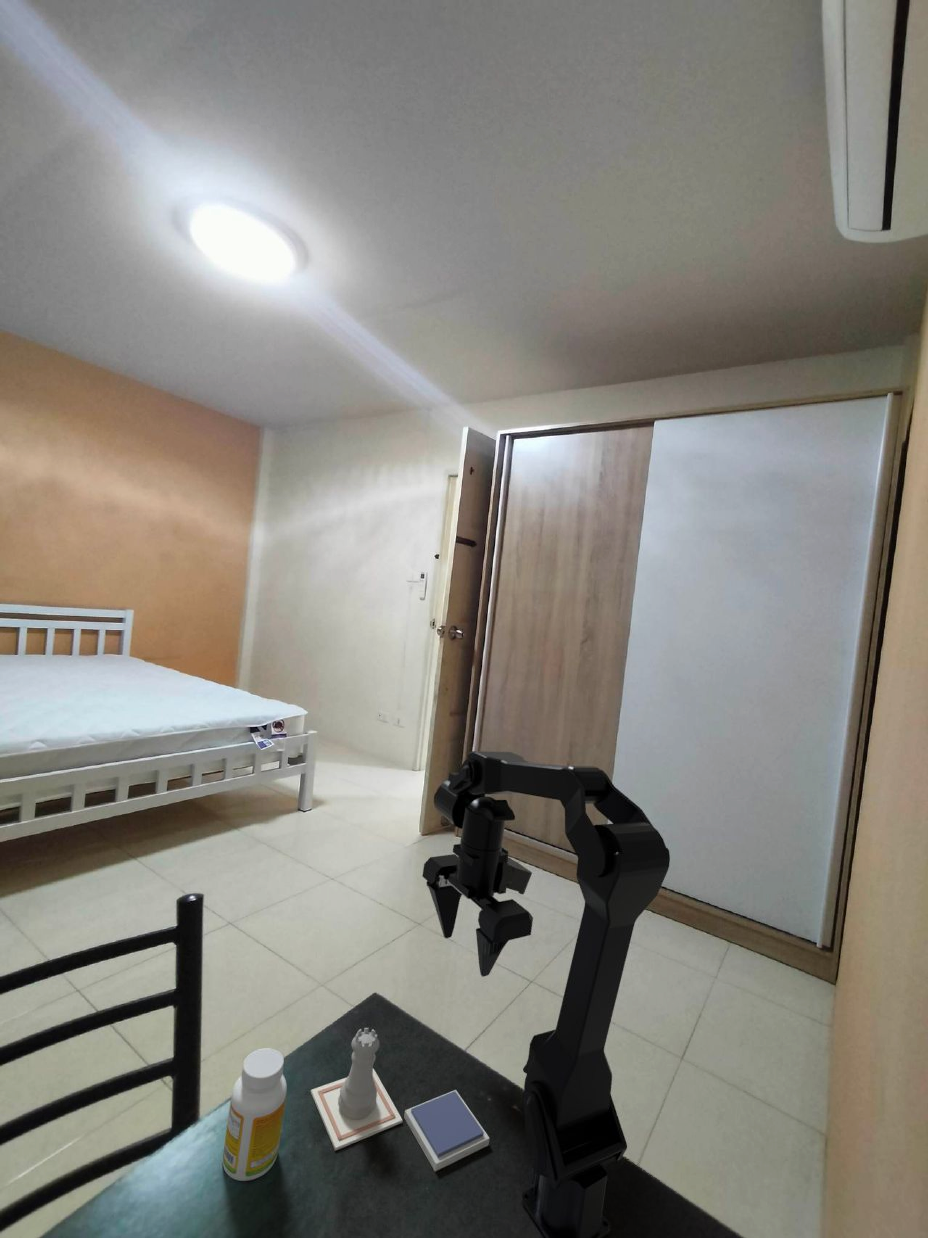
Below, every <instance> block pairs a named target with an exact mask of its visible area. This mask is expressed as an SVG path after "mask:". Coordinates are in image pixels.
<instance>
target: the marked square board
mask: <svg viewBox="0 0 928 1238" xmlns="http://www.w3.org/2000/svg"><path fill="white" fill-rule="evenodd" d="M346 1079H347V1077H344V1078H341V1079H337V1080H336V1081H332V1082H329V1083H326V1084H324V1085H321V1086H319V1087H315V1088H313V1089H311V1090H310V1094H311V1096H312V1100H313V1101H314V1104H315V1106H316V1108H317V1109H316V1110H318V1113H319V1115H320V1118H321V1120H322V1123H323V1125H324V1128H325V1130H326V1132H327V1134H328V1137H329V1140H330V1142H331V1144H332V1146H333V1147H332V1148H333V1149H334V1152H335V1151H337V1150H341V1149H343V1148H346V1147H347V1146H350V1145H352V1144H354V1143H357V1142H359V1141H362V1140H364V1139H367V1138H369V1137H371V1136H374V1135H376V1134H378V1133H381V1132H383V1131H385V1130H388V1129H390V1128H393V1127H395V1126H397V1125H400V1124H402V1123H403V1119H402V1117H401V1115H400V1112H399V1111H398V1109H397V1108H396V1105H395V1104H394V1102H393V1100H392V1099H391V1097H390V1095H389V1093H388V1092H387V1090H386V1088H385V1086H384V1085H383V1083H382V1081H381V1079H380V1077H379V1075H378V1074H377V1072H376V1070H375V1069H374V1068H373V1079H374V1081H375V1085H376V1088H377V1097H376V1106H375V1108H374V1110H373V1111H372V1112H371V1113H370V1114H369V1115H368V1116H367V1117H365V1118H362V1119H351V1118H348V1117H346V1116H345V1115H344V1114H343V1113H342V1112H341V1110H340V1108H339V1105H338V1097H339V1095H340V1089H341V1087H342V1085H343V1083H344V1081H345V1080H346Z"/></svg>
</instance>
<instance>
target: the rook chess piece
mask: <svg viewBox="0 0 928 1238" xmlns="http://www.w3.org/2000/svg"><path fill="white" fill-rule="evenodd" d="M369 1028H370V1027H364V1031H363V1030H362V1028H360V1029H359V1030H357V1032H356V1034H355V1036H354V1037H353V1039H352V1041H351V1048H352V1054H351V1061H352V1062H351V1068H350V1071H349V1074H348V1076H347V1077H346V1078H347V1079H346V1080H345V1081H344V1083H343V1085H342V1087H341V1089H340V1095H339V1097H338V1105H339V1108H340V1110H341V1112H342V1113H343V1114H344V1115H345V1116H346V1117H348V1118H351V1119H362V1118H365V1117H367V1116H368V1115H369V1114H370V1113H371V1112H372V1111H373V1110H374V1108H375V1106H376V1097H377V1088H376V1085H375V1081H374V1079H373V1069H374V1068H373V1067H374V1063H375V1062H376V1057H377V1056H376V1053H377V1051H378V1050H379V1048H380V1040H379V1038H378V1034H377V1033H376V1030H374V1029H371V1031H369V1030H370V1029H369Z"/></svg>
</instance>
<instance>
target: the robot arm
mask: <svg viewBox="0 0 928 1238" xmlns="http://www.w3.org/2000/svg"><path fill="white" fill-rule="evenodd" d="M466 757H467V758H466V759H465V760H464V761H463V763H462V764H461V766H460V767H459V769H458V770H457V772H449V773H448V779H447V780H445V781H444V782H442V783H441V785H439V786H438V788H437V789H436V791H435V793H434V795H433V805H434V807H435V810H436V811H437V812H438V813H439V814H441V816H442V817H444V818H445V819H446V820H448V821H449V822H450V823H451V824H452V825H453V826H455V827H456V828H458V829H460V830H461V835H460V842H459V843H458V844H453V847H452V854H446V855H437V856H431V857H429V858H428V859H427V860H426V861H425V862H424V864H423V869H422V878H424V879H425V880H426V886H427V888H428V890H429V893H430V896H431V899H432V902H433V905H434V908H435V911H436V914H437V918H438V921H439V924H440V928H441V931H442V934H443V937H444V938H445V939H450V938H452V936H453V934H454V929H455V925H456V921H457V920H456V919H457V916H458V910H459V905H460V900H461V897H462V896H463V897H465V898H466V899H467V900H471V901H472V902H473V903H474V904H475V905H477V906H478V907H479V908H480V909H481V910H480V911H479V913H478V917H477V918H478V919H477V922H478V927H477V928H476V929H475V933H476V944H477V945H476V946H477V956H478V965H479V966H478V967H479V973H480V976H481V977H483V978H484V977H486V976H489V975H490V974H491V972H492V969H493V968H494V966H495V964H496V962H497V960H498V959H499V956H500V954H501V953H502V952H503V951H502V950H504V948H505V947H506V945H507V944H508V942H509V941H514V940H516V939H520V938H524V937H527V936H531V935H532V930H533V929H532V928H533V920H534V916H532V914H531V913H530V912H529V911H528V910H527V909H526V908H524V906H522V905H521V904H519V903H518V902H517V901H515V900H514V899H512V898H511V899H506V900H502V901H501V900H500V901H499V900H498V899H496V898H495V897H494V896H495V894H497V895H502V894H503V895H504V894H507V889H508V890H512V891H515V892H518V894H520V895H524V894H525V892H526V889H527V887H528V884H529V883H530V880H531V878H532V874H533V872H532V871H531V870H529V869H528V868H526V867H524V866H523V865H522V864H520V863H519V862H518V861H516V860H514V859H513V858H511V857H509V850H508V849H506V848H505V847H503V841H504V834H505V827H506V821H507V822H509V821H511V822H512V821H515V820H516V815H515V812H514V810H513V809H512V808H511V807H510V805H509V803H508V800H507V799H496V798H494V797H493V796H492V797H491V796H486V795H506V794H507V795H512V794H523V795H528V796H535V797H540V798H545V799H550V800H551V799H552V800H555V801H556V800H557V801H559V802H560V803H561V805H562V807H563V809H564V833H565V836H566V838H567V840H568V841H569V844H570V846H571V847H572V849H573V851H574V853H575V855H576V857H577V866H576V876H575V877H576V880H577V882H578V886H579V887H580V892H581V894H582V897H583V900H584V907H583V911H582V915H581V919H580V925H579V928H578V933H577V938H576V941H575V945H574V949H573V955H572V959H571V963H570V968H569V970H568V976H567V980H566V983H565V988H564V994H563V997H562V1002H561V1006H560V1010H559V1014H558V1019H557V1023H556V1027H555V1029H553V1030H548V1031H545V1032H542V1033H537V1034H534V1035H533V1036H532V1039H531V1040H530V1043H529V1049H528V1058H527V1061H526V1064H525V1065H524V1066H523V1068H522V1071H523V1073H525V1074H526V1076H525V1079H524V1084H523V1085H524V1086H523V1108H524V1128H525V1145H526V1149H527V1150H528V1152H529V1153H530V1155H531V1156H532V1169H533V1171H532V1177H531V1178H532V1180H531V1183H532V1184H533V1186H532V1187H530V1188H528V1189H527V1190H525V1191H524V1192H522V1193H521V1198H520V1202H521V1203H522V1205H523V1206H524V1208H525V1209H526V1212H528V1213H529V1216H530V1217H531V1218H532V1219H533V1221H534V1223H535V1224H536V1226H537V1227H538V1229H539V1230H540V1231H541V1233H542V1235H543V1236H544V1237H545V1238H603V1237H605V1236H606V1235H608V1234H609V1233H610V1232H609V1231H611V1223H610V1222H609V1220H608V1219H607V1218H606V1216H605V1215H604V1214H603V1208H604V1201H605V1194H606V1186H607V1182H608V1181H607V1180H608V1172H607V1171H606V1169H605V1168H604V1167H603V1166H606V1165H608V1164H611V1163H612V1162H618V1161H619V1160H622V1158H623V1156H624V1155H625V1152H626V1151H627V1150H628V1143H627V1141H626V1138H625V1134H624V1131H623V1129H622V1125H621V1121H620V1119H619V1115H618V1113H617V1109H616V1105H615V1103H614V1101H613V1097H612V1094H611V1092H612V1084H613V1083H612V1082H613V1073H612V1070H611V1067H610V1064H609V1061H608V1058H607V1056H606V1052H605V1046H606V1042H607V1038H608V1034H609V1031H610V1027H611V1023H612V1022H611V1021H612V1018H613V1014H614V1011H615V1010H614V1009H615V1005H616V1002H617V1001H616V1000H617V997H618V993H619V989H620V984H621V981H622V977H623V972H624V968H625V964H626V961H627V956H628V952H629V948H630V943H631V940H632V937H633V931H634V928H635V924H636V921H637V919H638V918H639V917H640V916H641V915H642V913H643V912H644V911H645V910H646V909H647V907H648V906H650V904H651V903H652V902H653V901H654V900H655V899H656V897H657V896H658V894H659V891H661V887H662V885H663V883H664V881H665V878H666V876H667V873H668V872H669V869H670V862H671V860H670V859H671V856H670V850H669V848H668V847H667V846H666V844H665V841H664V840H665V839H664V838H663V836H662V835H661V833H660V832H659V830H658V829H656V828H655V827H654V825H653V823H651V821H650V819H649V818H648V817H647V814H646V813H644V811H643V809H641V807H640V806H638V804H637V803H635V802H634V801H632V800H631V799H630V798H629V797H628V796H626V795H625V794H624V793H623V792H621V791H620V789H618V788H617V787H616V786H615V785H614V784H613V782H612V781H611V779H610V777H609V776H608V774H607V773H606V772H605V771H604V770H603V769H600V768H599V767H597V766H593V765H591V766H590V765H589V766H588V765H584V766H583V765H579V766H578V765H570V766H569V765H560V764H559V765H558V764H550V763H541V762H540V763H539V762H531V761H530V762H529V761H528V760H525V758H524V757H523V756H521V755H519V754H516V753H513V752H511V751H488V750H487V751H485V750H484V751H483V750H480V751H479V750H477V751H476V750H473V751H469V753H468V754H467V756H466ZM589 804H590V805H593V806H594V808H595V809H596V810H597V811H598V813H600V814H602V815H603V816H604V817H605V818H606V819H607V820H608V821H609V822H610V823H604V824H603V823H601V824H593V822H592V820H591V819H590V817H589V815H588V813H587V807H586V805H589Z"/></svg>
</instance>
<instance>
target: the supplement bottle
mask: <svg viewBox="0 0 928 1238" xmlns="http://www.w3.org/2000/svg"><path fill="white" fill-rule="evenodd" d="M284 1063H285V1060H284V1056H283V1054H282V1053H281V1052H280V1051H279V1050H276V1049H274V1048H269V1047H263V1048H259V1049H256V1050H254V1051H252V1052H250V1053H249V1054H248V1055H247V1056H246V1057H245V1059H244V1061H243V1064H242V1070H241V1073H240V1075H241V1076H240V1077H239V1078H237V1080H236V1082H234V1083H235V1084H234V1085H233V1088H232V1091H231V1096H230V1104H229V1110H228V1116H227V1124H226V1130H225V1137H224V1145H223V1150H222V1151H223V1152H222V1165H223V1169H224V1171H225V1173H226V1174H227V1176H229V1177H230V1178H232V1179H233V1180H236V1181H238V1182H239V1181H240V1182H247V1181H253V1180H255V1179H259V1178H261V1177H262V1176H263V1175H265V1174H266V1173H268V1172H269V1170H271V1168H272V1167H273V1165H274V1164H275V1162H276V1159H277V1157H278V1153H279V1148H280V1147H279V1146H280V1141H281V1133H282V1127H283V1118H284V1113H285V1105H286V1098H287V1097H286V1096H287V1089H288V1086H287V1080H286V1078H285V1075H284V1074H283V1072H284Z"/></svg>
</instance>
